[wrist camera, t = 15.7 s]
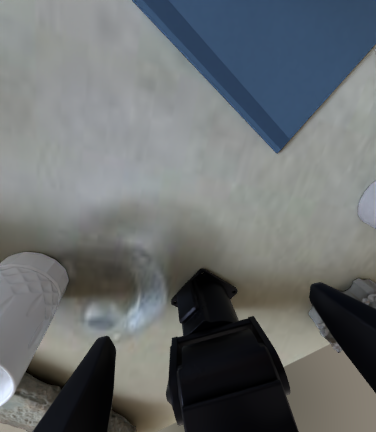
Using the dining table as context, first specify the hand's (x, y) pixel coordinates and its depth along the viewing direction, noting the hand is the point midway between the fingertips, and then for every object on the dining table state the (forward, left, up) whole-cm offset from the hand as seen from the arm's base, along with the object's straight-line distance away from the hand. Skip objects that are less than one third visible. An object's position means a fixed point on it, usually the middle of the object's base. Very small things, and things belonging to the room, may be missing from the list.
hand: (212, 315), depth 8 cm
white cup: (+8, +16, -13) cm, 22 cm away
